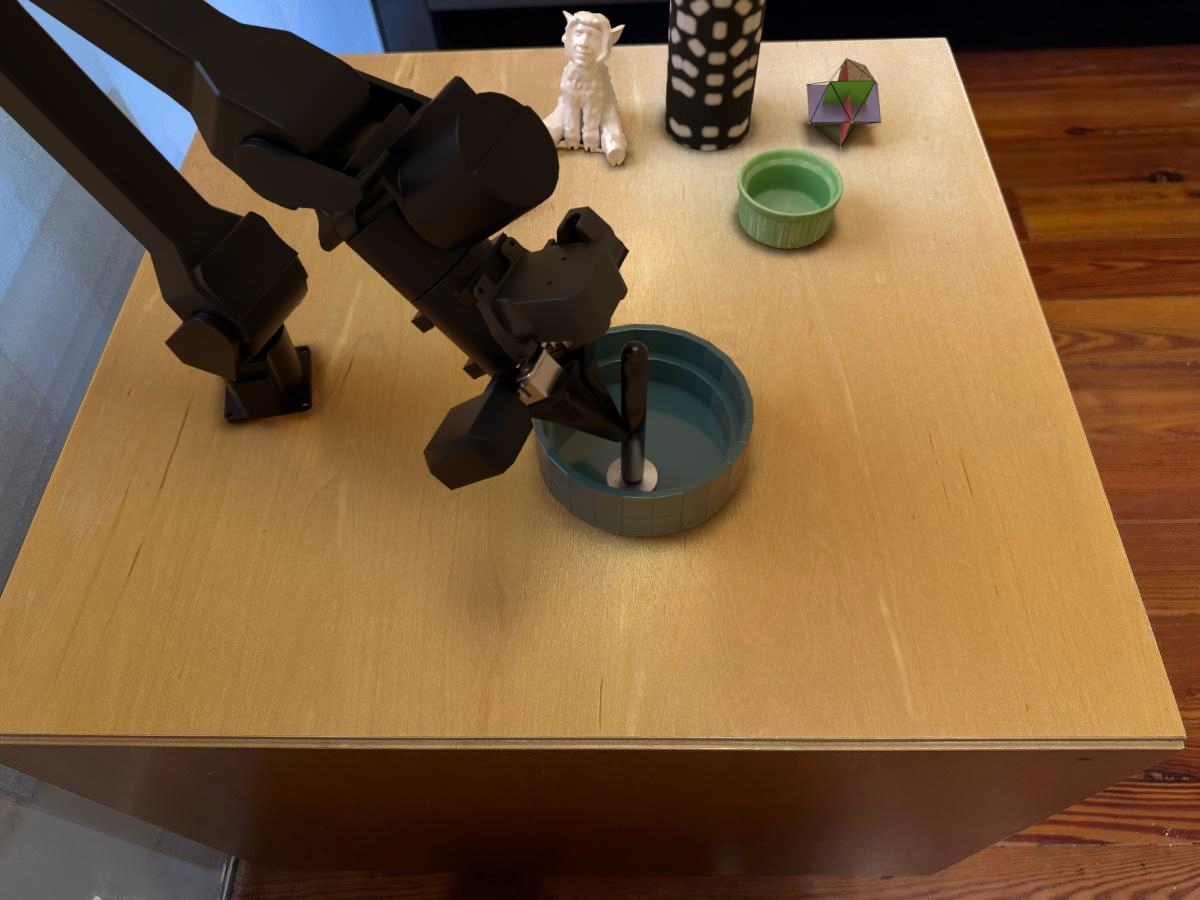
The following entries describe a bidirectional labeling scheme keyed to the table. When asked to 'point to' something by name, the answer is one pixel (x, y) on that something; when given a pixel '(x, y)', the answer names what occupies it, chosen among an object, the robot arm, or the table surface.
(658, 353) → the bowl
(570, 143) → the sitting furry creature
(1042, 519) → the table surface
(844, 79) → the geometric puzzle
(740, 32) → the spotted tube
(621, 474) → the upright rod on disc
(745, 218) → the ramekin
